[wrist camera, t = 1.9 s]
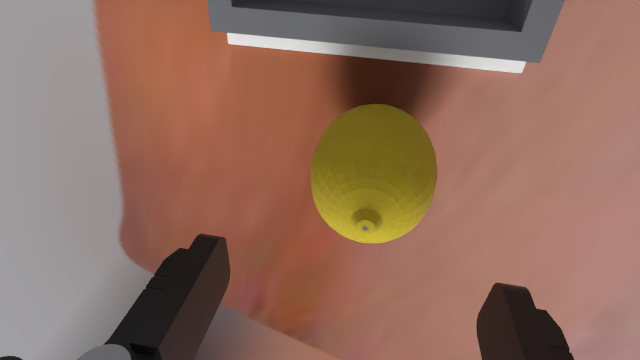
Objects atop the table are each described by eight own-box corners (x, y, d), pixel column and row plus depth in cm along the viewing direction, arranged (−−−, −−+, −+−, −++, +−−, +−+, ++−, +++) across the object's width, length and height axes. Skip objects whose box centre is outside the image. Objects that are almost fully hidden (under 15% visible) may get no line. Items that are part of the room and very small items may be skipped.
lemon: (318, 88, 19) (274, 170, 12) (428, 73, 17) (445, 156, 11) (336, 176, 22) (309, 280, 15) (432, 169, 20) (447, 281, 14)
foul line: (526, 53, 16) (528, 55, 16) (520, 71, 16) (521, 73, 16) (229, 25, 18) (226, 26, 17) (230, 42, 18) (228, 43, 18)
